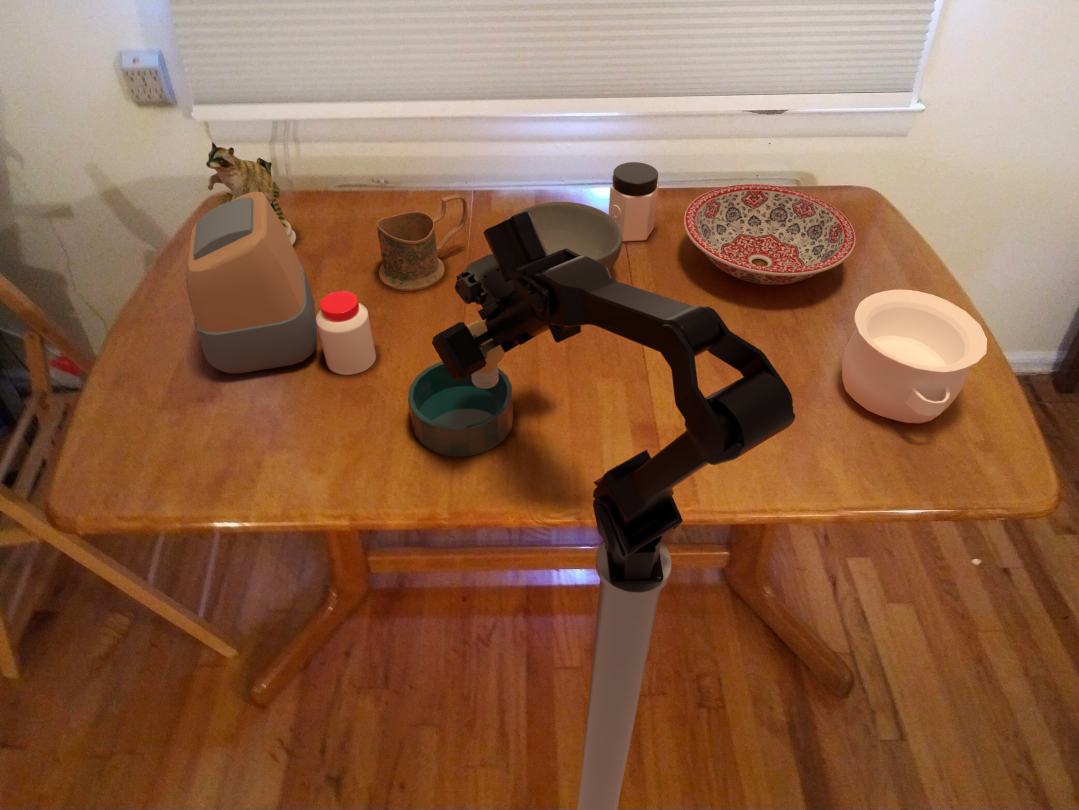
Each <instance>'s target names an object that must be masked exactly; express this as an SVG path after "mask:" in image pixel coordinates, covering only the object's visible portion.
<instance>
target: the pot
mask: <svg viewBox="0 0 1079 810" xmlns="http://www.w3.org/2000/svg"><path fill="white" fill-rule="evenodd" d="M853 316H854V318H853V324H854V326H855V329H854V330H853V332H852V335H851V336H850V338H849V341H848V343H847V345H846V346H845V348H844V352H843V355H842V358H841V377H842V378H841V379H842V382H843V387H844V390H845V391H846V393H847V394H848V395H849V396H850V397H851V398H852V399H853V400H854V402H856V403H857V404H858V405H860V406H861V407H862V408H863V409H864V410H867V411H868V412H871V413H872V414H875V415H877V416H879V417H883V418H887V419H890V420H894V421H897V422H902V423H906V424H923V423H927V422H930V421H933V420H934V419H935V418H937V417H938V416H940V415H942V413H943V412H945V411H946V410H947V409H948V408H949V407H950V406H951V404H952V403H953V402H954V401H955V400H956V399H957V397H958V396H959V394H960V393H961V391H962V389H963V387H964V385H965V382H966V380H967V378H968V375H969V372H970V369H971V367H973V366H976V365H978V363H980V362H981V360H982V359H983V358H984V357H985V356H986V354H987V351H988V350H987V348H988V338H987V336H986V334H985V332H984V330H983V328H982V325H981V324H980V323H979V322H978V321H977V320H976V319H974V318H973V317H972V316H971V315H970V314H969V313H968V312H967V311H966V310H964V309H962V308H961V307H959V306H957V305H956V304H954V303H953V302H950V301H949V300H947V299H945V298H942V297H940V296H937V295H934V294H931V293H928V292H923V291H918V290H911V289H889V290H884V291H879V292H875V293H873V294H870V295H869V296H866V297H865V298H864V299H863V300H861V301H859V304H858V305H857V308H856V310H855V312H854V315H853Z"/></svg>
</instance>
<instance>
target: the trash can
mask: <svg viewBox="0 0 1079 810" xmlns="http://www.w3.org/2000/svg"><path fill="white" fill-rule="evenodd" d="M187 259H188V260H187V267H186V275H185V285H186V291H187V296H188V300H189V305H190V308H191V311H192V314H193V318H194V319H193V324H194V326H195V330H196V333H197V336H198V339H199V342H200V345H201V349H202V352H203V354H204V357H205V360H206V361H207V362H208V364H210V365H211V366H212V367H213V368H214V369H216V370H218V371H220V372H223V373H226V374H244V373H245V374H246V373H250V372H256V371H264V370H269V369H275V368H282V367H288V366H293V365H296V364H298V363H303V362H305V360H306V359H308V358H309V357H310V356H311V355H313V353H314V351H315V349H316V346H317V340H318V328H317V324H316V308H315V307H316V306H315V299H314V296H313V293H312V290H311V285H310V283H309V280H308V277H307V273H306V271H305V268H304V267H303V264H302V263H301V262H300V260H299V258H298V255H297V252H296V250H295V248H294V245H292V244H291V241H290V239H289V237H288V235H287V232H286V230H285V228H284V226H283V224H282V223H281V221H280V219H279V218H278V216H277V215H276V213H275V211H274V210H273V208H272V206H271V205H270V203H269V201H268V200H267V198H266V197H265V195H264V194H263V193H262V192H250V193H247V194H244V195H241V196H239V197H237V198H235V199H233V200H231V201H229V202H227V203H224V204H223V203H221V204H219V205H218V206H216V207H214V208H212V209H210V210H209V211H208V212H206V213H205V214H203V215H202V217H200V218H199V219H198V220H197V221H196V222H195V224H194V226H193V228H192V230H191V234H190V242H189V251H188V258H187Z"/></svg>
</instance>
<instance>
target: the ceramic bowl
mask: <svg viewBox="0 0 1079 810" xmlns="http://www.w3.org/2000/svg"><path fill="white" fill-rule="evenodd" d="M683 226H684V230H685V234H686V235H687V237H688V238H689V240H690V241H691V242H692V243H693V244H694V246H696V247H697V248H698V249H699V250H700V251H701V253H703V254H704V256H705V257H706V258H707V259H708V260H709V261H710V262H711V263H712V264H713V265H714V266H715V267H717V268H718V269H719V270H721V271H722V272H724V273H726V274H728V275H730V276H732V277H734V278H736V279H739V280H741V281H744V282H748V283H751V284H752V283H753V284H758V285H766V286H767V285H768V286H773V285H774V286H778V285H780V286H781V285H790V284H794V283H798V282H801V281H805V280H808V279H810V278H812V277H814V276H816V275H818V274H820V273H822V272H826V271H829V270H831V269H833V268H835V267H837V266H839V265H840V264H842V263H843V262H845V261H846V260H847V259H848V258H849V256H850V255H851V254H852V252H853V251H854V248H855V245H856V232H855V229H854V227H853V225H852V224H851V222H850V221H849V219H848V218H847V217H846V216H845V215H844V213H842V212H841V211H840V210H838V208H836V207H835V206H833V205H832V204H830V203H829V202H826V201H825V200H823V199H820V198H818V197H817V196H814V195H812V194H809V193H806V192H804V191H801V190H797V189H793V188H788V187H783V186H778V185H771V184H755V183H754V184H753V183H752V184H751V183H748V184H747V183H745V184H734V185H727V186H723V187H718V188H714V189H712V190H710V191H707V192H705V193H703V194H701V195H700V196H698V197H696V198H695V199H694V200H693V201H692V202H691V203H690V204H689V205H688V207H687V208H686V210H685V213H684V216H683ZM755 260H762V261H764V262H766V263H767V265H765V266H764V265H759V264H754V263H753V262H752V261H755Z"/></svg>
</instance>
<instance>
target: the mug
mask: <svg viewBox="0 0 1079 810" xmlns="http://www.w3.org/2000/svg"><path fill="white" fill-rule="evenodd" d="M440 200H441V201H440V202H441V208H440V211H439V213H438V214H437V215H436V216H435V217H432V216H431V215H430V214H427V213H425V212H422V211H408V212H404V213H403V212H402V213H399V214H395V215H390V216H386V217H383V218H380V219H379V220H377V222H376V223H375V225H376V230H377V239H378V242H379V249H380V256H381V261H382V264H381V265H380V266H379V269H378V276H379V279H380V281H381V282H382V284H383V285H385V286H386V287H388V288H389V289H393V290H396V291H402V292H413V291H414V292H415V291H420V290H421V291H422V290H425V289H428V288H430V287H432V286H434V285H436V284H437V283H438V282H440V281H441V279H443V277H444V275H445V265H444V262H443V260H441V259H440V258H439V257H438V252H439V251H441V250H442V249H443V248H444V247H445V246H446V244H447V243H448V242H449V240H450V239H451V238H452V237H453V236H455V234H457V233H458V232H459V231H461V230H462V229H463V227H464V226H465V224H466V223H467V219H468V213H469V212H468V202H467V200H466V199H465V197H463V196H462V195H460V194H451V195H447V196H444V197H442V198H441V199H440ZM454 200H461V202H462V215H461V220H460V221H459V223H458V224H457V225H456V226H455V227H454V228H452V229H451V230H450V231H448V232H447V233H446V235H445V236H444V237H443V238H442V240H441V241H440V242H439V243H438V244H437V238H436V237H437V236H436V229H435V226H436V225H435V223H437V222H440V221H441V220H442V219H443V217H444V216H445V215H446V209H447V202H451V201H454Z"/></svg>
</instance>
